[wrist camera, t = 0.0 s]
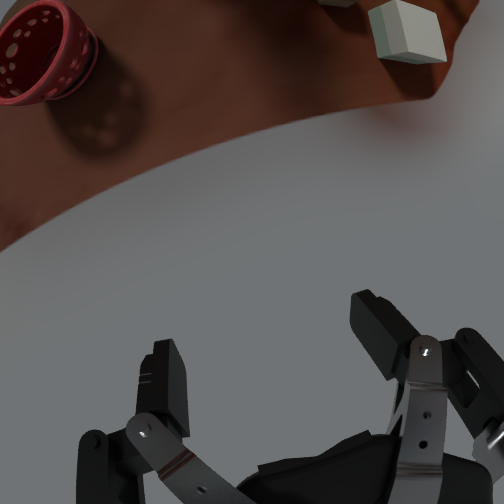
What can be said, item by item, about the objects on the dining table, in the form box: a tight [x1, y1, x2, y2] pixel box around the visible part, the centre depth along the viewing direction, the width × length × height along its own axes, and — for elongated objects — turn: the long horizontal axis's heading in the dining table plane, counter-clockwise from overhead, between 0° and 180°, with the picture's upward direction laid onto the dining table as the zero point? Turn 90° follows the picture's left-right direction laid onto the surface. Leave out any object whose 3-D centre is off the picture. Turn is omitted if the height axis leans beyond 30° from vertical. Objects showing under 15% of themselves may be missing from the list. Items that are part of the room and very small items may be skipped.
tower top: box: [380, 0, 447, 63], centre depth 26 cm, size 9×9×4 cm
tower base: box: [368, 6, 428, 64], centre depth 29 cm, size 9×9×4 cm
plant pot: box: [0, 0, 99, 106], centre depth 20 cm, size 13×13×12 cm
